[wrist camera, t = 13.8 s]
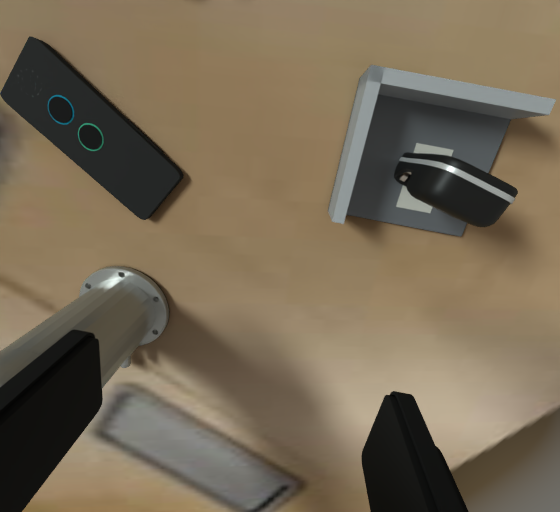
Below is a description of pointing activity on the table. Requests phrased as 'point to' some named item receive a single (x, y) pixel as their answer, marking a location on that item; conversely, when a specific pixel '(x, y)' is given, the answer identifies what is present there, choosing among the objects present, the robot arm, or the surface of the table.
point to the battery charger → (455, 187)
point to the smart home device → (89, 129)
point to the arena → (418, 140)
